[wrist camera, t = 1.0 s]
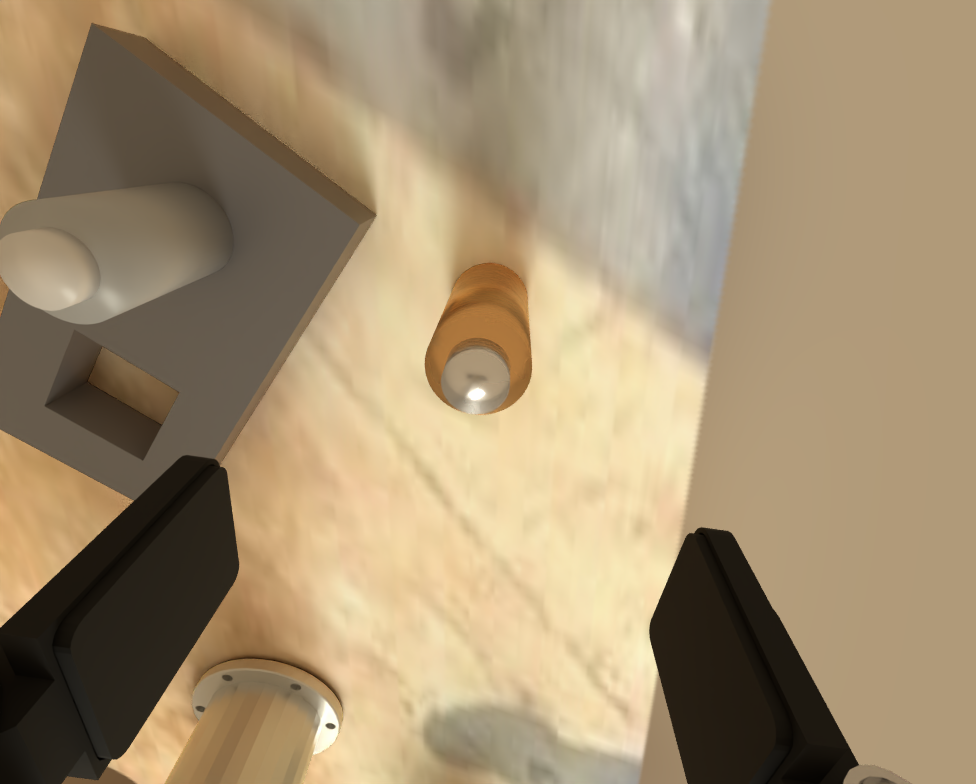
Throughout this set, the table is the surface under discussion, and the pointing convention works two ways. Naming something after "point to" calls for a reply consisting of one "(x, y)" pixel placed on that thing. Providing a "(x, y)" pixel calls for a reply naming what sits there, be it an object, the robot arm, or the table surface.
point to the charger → (159, 266)
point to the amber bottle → (482, 342)
